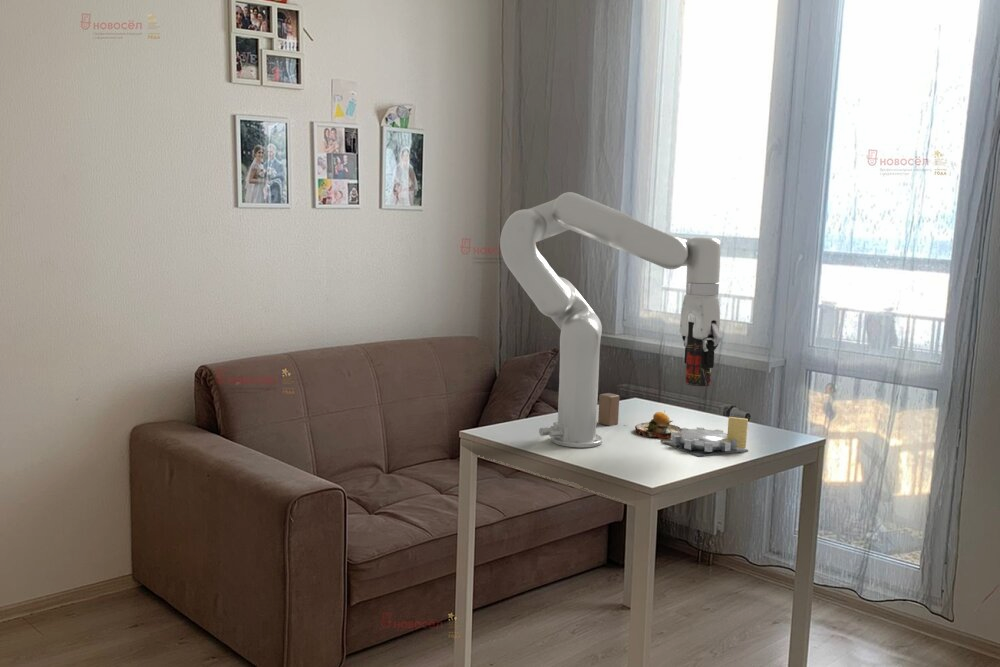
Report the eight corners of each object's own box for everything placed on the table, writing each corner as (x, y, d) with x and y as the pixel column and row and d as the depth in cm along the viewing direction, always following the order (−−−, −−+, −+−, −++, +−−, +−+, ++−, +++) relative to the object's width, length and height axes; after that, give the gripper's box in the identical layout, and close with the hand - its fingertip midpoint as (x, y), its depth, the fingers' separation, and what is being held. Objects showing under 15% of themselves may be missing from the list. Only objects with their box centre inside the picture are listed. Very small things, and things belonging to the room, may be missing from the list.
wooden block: (618, 424, 247) (620, 395, 246) (608, 426, 244) (610, 396, 243) (607, 421, 250) (608, 392, 249) (597, 423, 247) (598, 394, 246)
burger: (674, 429, 245) (676, 401, 244) (686, 440, 233) (688, 411, 232) (630, 428, 244) (631, 400, 243) (640, 439, 232) (641, 410, 231)
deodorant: (683, 381, 223) (686, 319, 221) (708, 381, 223) (711, 320, 221) (687, 385, 218) (689, 322, 216) (712, 386, 217) (715, 323, 215)
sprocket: (664, 446, 222) (666, 416, 221) (678, 432, 236) (680, 404, 235) (740, 456, 215) (742, 426, 214) (750, 441, 230) (752, 413, 229)
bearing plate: (695, 457, 216) (695, 454, 216) (657, 441, 229) (658, 439, 229) (748, 451, 223) (748, 449, 223) (709, 436, 236) (709, 434, 236)
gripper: (668, 287, 224) (665, 360, 226) (711, 293, 208) (707, 372, 210) (694, 286, 227) (690, 359, 229) (738, 293, 211) (734, 370, 213)
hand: (698, 364), depth 220 cm, fingers closed on deodorant, 5 cm apart
